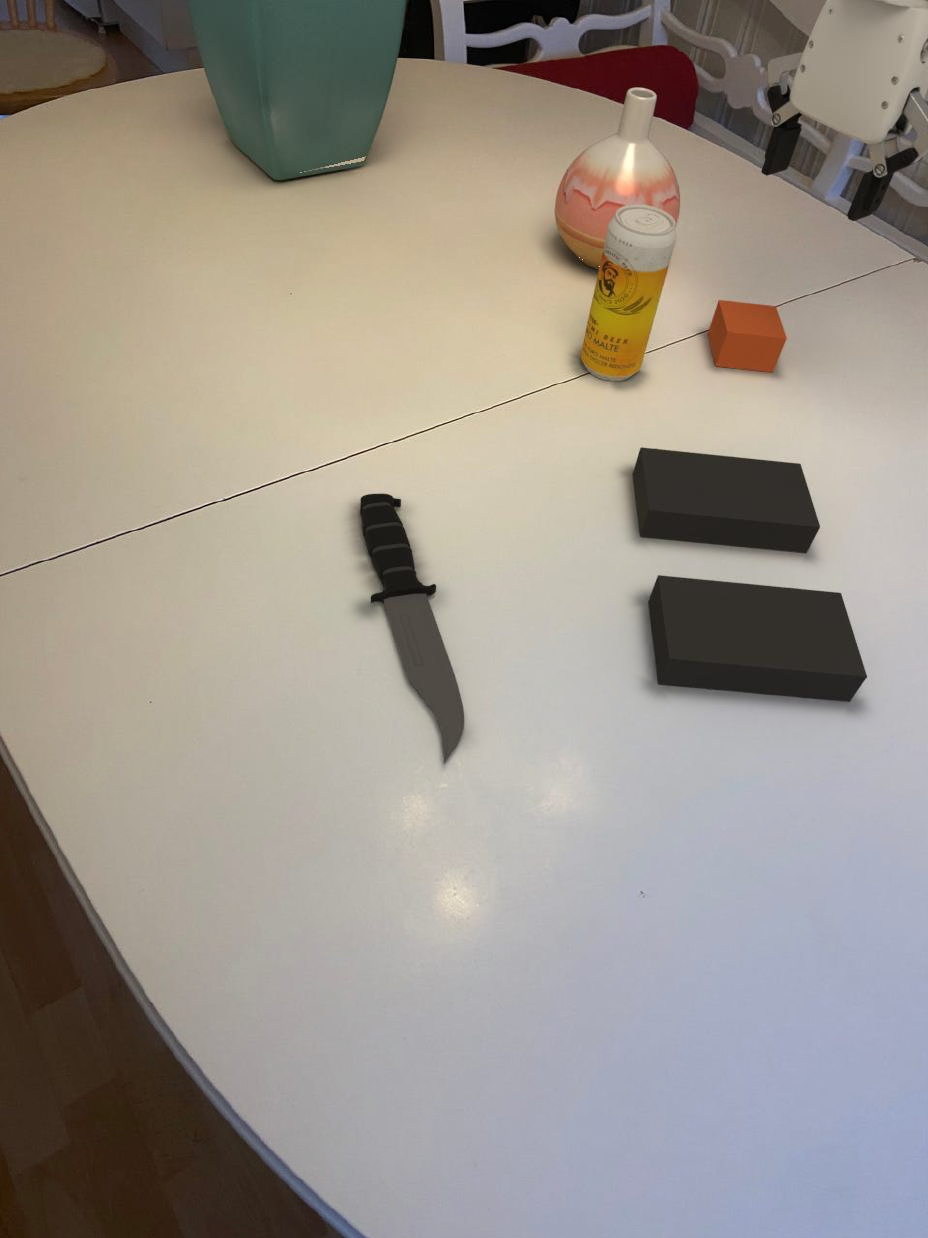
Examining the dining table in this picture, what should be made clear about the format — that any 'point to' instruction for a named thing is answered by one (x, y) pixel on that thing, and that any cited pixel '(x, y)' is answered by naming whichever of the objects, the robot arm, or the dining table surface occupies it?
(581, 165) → the vase
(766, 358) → the link piece
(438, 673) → the knife
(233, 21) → the flower pot
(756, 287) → the dining table surface
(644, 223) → the beer can
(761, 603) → the pads
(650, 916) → the dining table surface
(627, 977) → the dining table surface
